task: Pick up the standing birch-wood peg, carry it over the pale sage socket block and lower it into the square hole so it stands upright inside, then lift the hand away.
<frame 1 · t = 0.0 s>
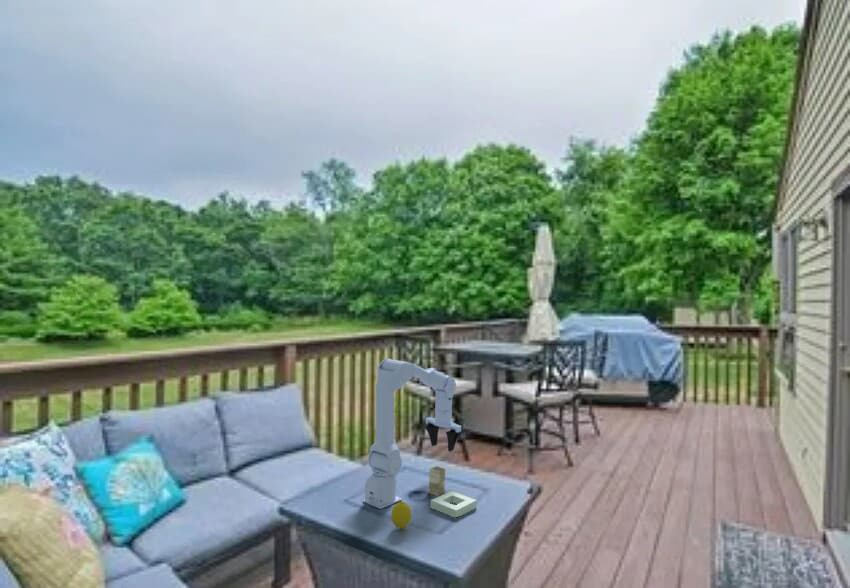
hand: (442, 447, 203), 10 cm above the table, tool pointing down, fingers open, 7 cm apart
socket block: (453, 508, 178), on the table
lemon: (401, 529, 164), on the table
peg: (436, 493, 189), on the table
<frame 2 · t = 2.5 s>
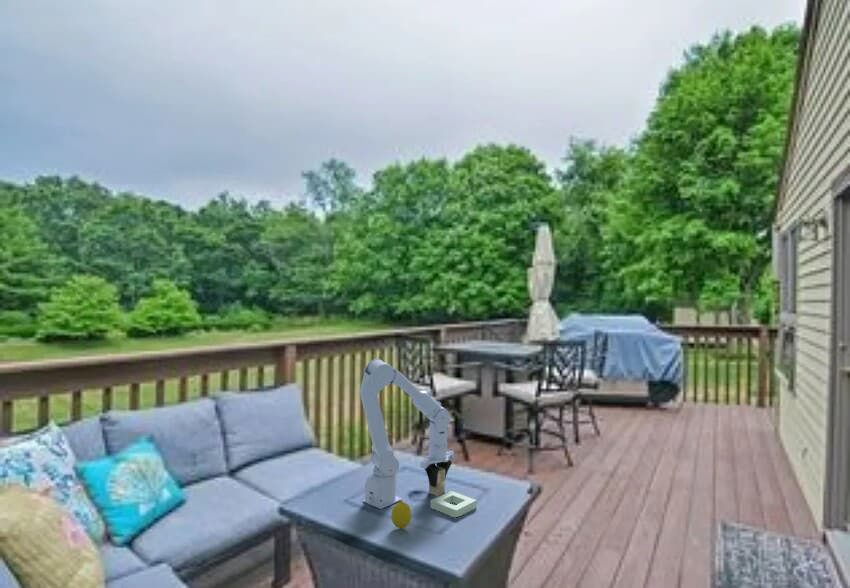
hand: (437, 484, 189), 3 cm above the table, tool pointing down, fingers closed on peg, 4 cm apart
peg: (436, 493, 189), on the table, touching gripper
everything else where it was.
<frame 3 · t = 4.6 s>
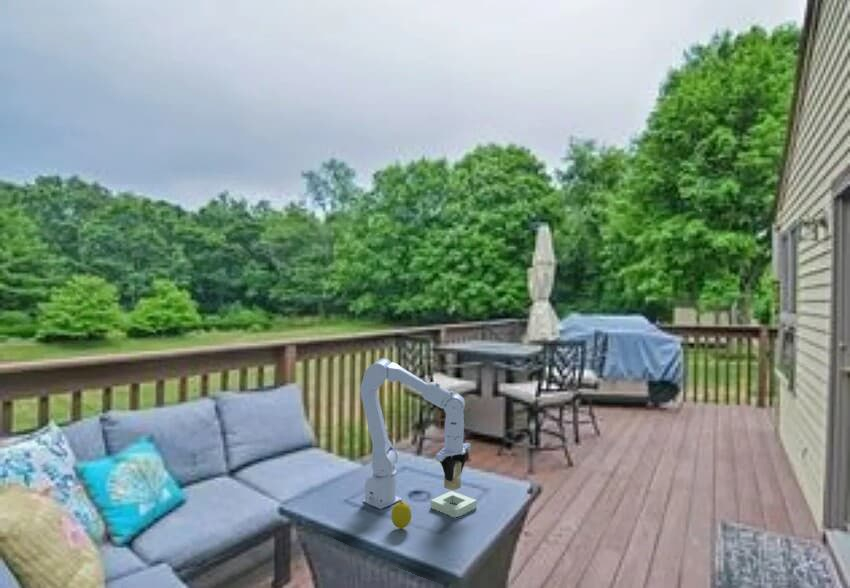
hand: (453, 478, 179), 9 cm above the table, tool pointing down, fingers closed on peg, 4 cm apart
peg: (452, 487, 179), point 6 cm above the table, touching gripper
everything else where it was.
when the fingers open (4 cm above the table, at t = 7.0 s): peg stays where it is, resting in socket block.
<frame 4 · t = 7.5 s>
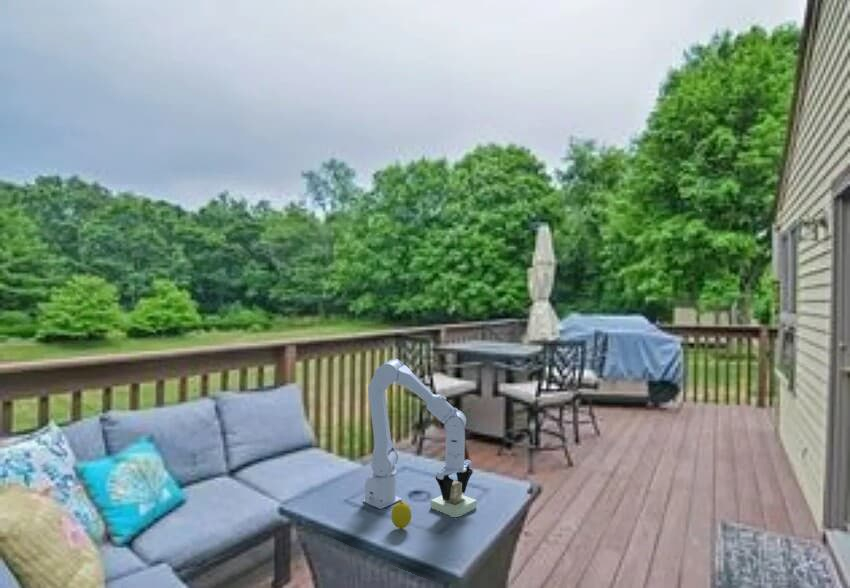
hand: (453, 495, 178), 4 cm above the table, tool pointing down, fingers open, 7 cm apart
peg: (453, 508, 178), resting in socket block
everything else where it was.
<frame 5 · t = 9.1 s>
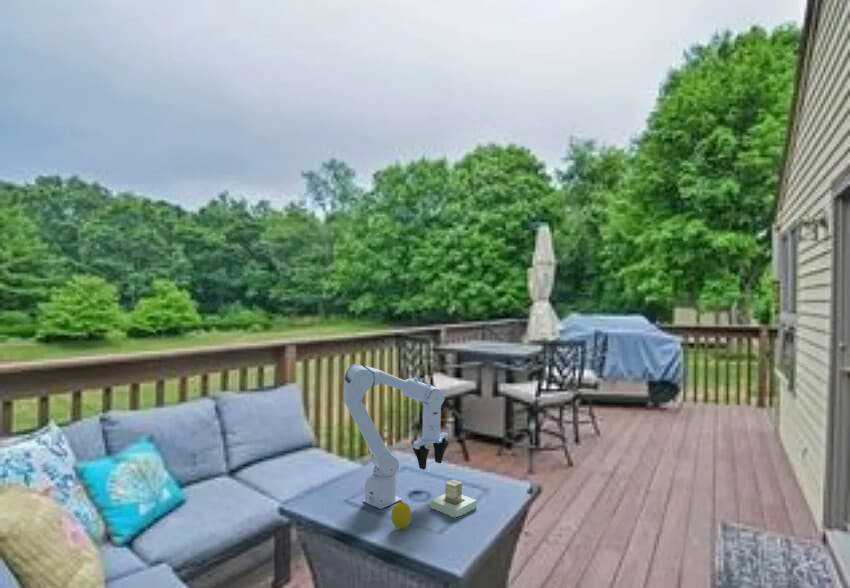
hand: (430, 465, 188), 9 cm above the table, tool pointing down, fingers open, 7 cm apart
nothing on the table moved.
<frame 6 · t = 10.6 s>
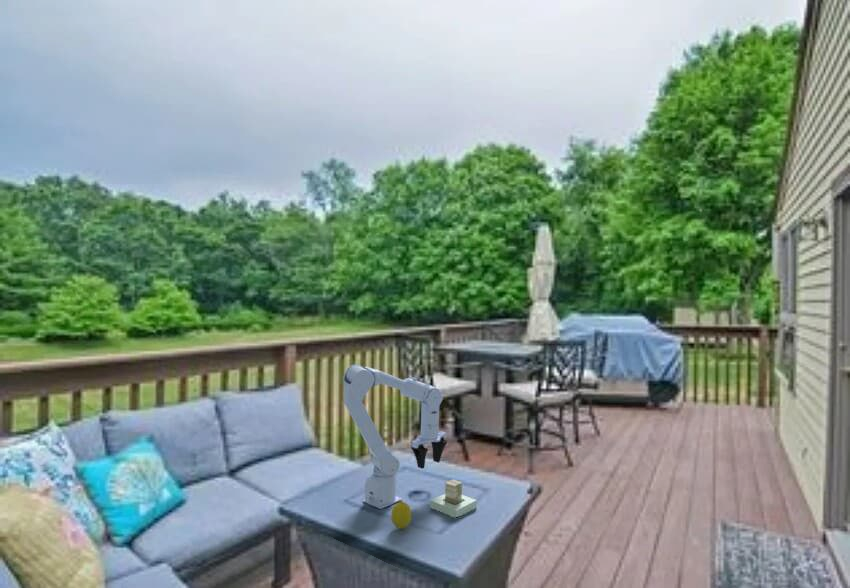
hand: (428, 464, 188), 9 cm above the table, tool pointing down, fingers open, 7 cm apart
nothing on the table moved.
at the end: peg 0.1 cm off-centre on the socket block, point 0.0 cm above the socket block's base; peg tilted 0°; the gripper is holding nothing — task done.
